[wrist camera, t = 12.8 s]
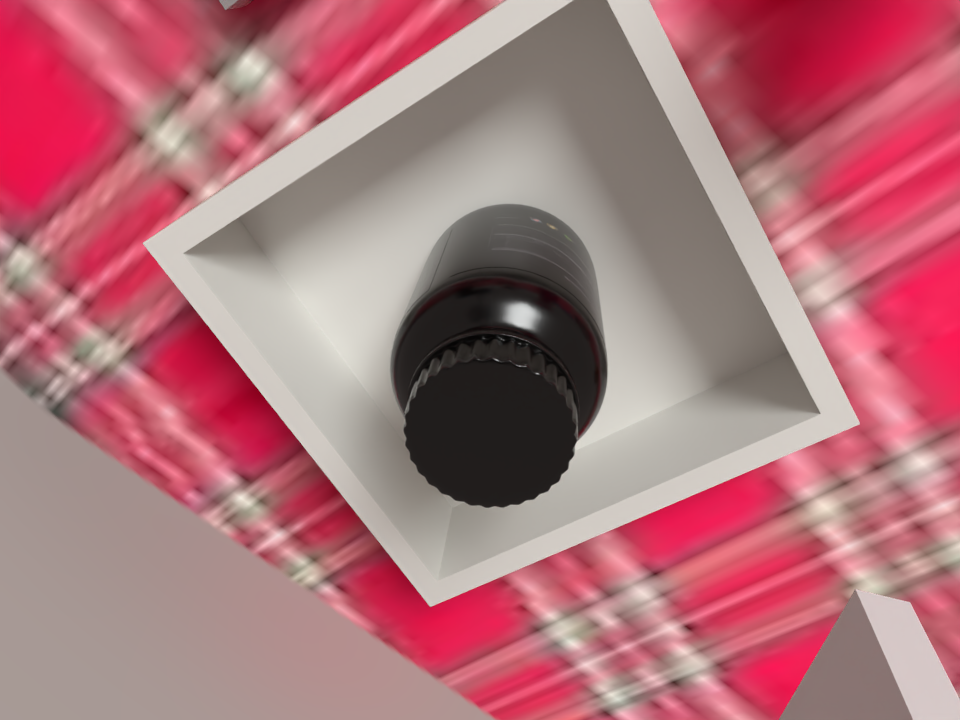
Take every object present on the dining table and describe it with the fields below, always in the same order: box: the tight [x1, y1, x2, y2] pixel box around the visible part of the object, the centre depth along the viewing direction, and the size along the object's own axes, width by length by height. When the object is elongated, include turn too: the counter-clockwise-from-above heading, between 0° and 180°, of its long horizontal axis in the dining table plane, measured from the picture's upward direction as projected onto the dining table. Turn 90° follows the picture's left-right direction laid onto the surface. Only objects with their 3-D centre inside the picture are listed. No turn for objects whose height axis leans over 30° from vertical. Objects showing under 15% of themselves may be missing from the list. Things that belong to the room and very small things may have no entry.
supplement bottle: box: [390, 204, 608, 508], centre depth 28 cm, size 7×7×12 cm
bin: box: [143, 0, 860, 607], centre depth 32 cm, size 18×18×6 cm
